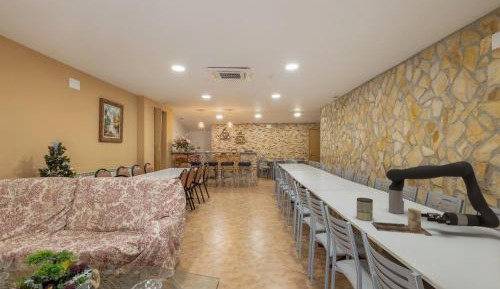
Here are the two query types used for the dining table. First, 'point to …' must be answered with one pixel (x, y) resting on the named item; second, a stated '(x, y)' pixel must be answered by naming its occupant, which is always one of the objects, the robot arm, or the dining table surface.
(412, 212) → the birch block
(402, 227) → the board
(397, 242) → the dining table surface
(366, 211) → the coffee can
